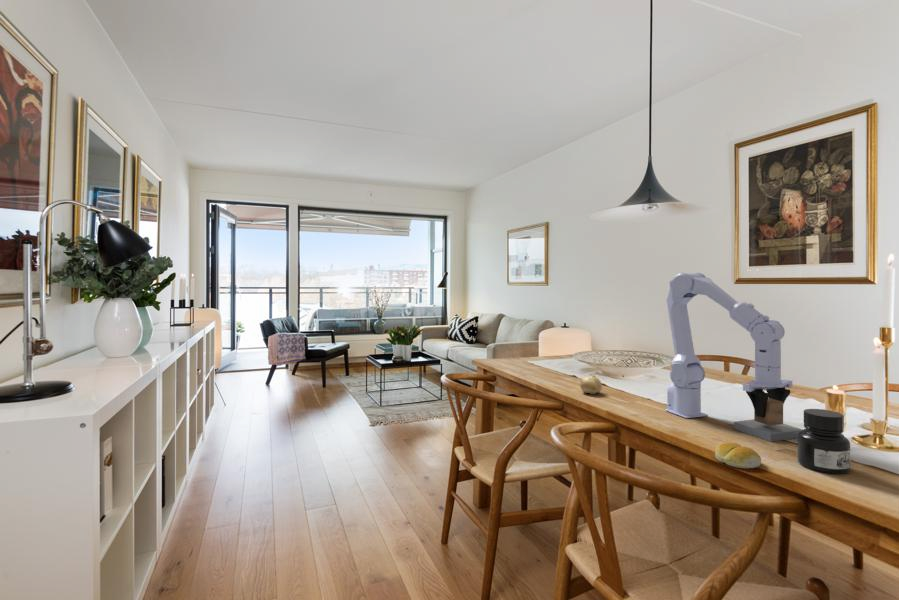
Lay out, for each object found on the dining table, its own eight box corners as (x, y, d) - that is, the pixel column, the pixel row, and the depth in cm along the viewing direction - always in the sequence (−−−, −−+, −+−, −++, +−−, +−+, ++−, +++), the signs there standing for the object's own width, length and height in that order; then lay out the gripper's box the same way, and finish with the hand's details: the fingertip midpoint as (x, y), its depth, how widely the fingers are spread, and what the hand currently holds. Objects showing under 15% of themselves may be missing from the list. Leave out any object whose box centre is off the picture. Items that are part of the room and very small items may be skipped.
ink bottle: (824, 477, 94) (824, 420, 94) (786, 461, 103) (786, 409, 103) (862, 472, 96) (863, 416, 96) (822, 457, 105) (822, 406, 104)
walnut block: (754, 420, 123) (754, 399, 123) (767, 419, 124) (767, 397, 124) (769, 425, 119) (769, 403, 119) (783, 424, 120) (783, 401, 120)
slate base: (733, 428, 126) (733, 421, 126) (765, 425, 129) (765, 418, 129) (770, 441, 115) (770, 434, 115) (804, 437, 118) (804, 429, 118)
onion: (605, 395, 166) (604, 376, 166) (583, 396, 167) (583, 377, 166) (598, 390, 174) (598, 372, 174) (577, 391, 175) (577, 372, 174)
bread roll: (734, 453, 109) (734, 436, 109) (768, 467, 100) (768, 449, 100) (705, 456, 107) (705, 440, 107) (737, 471, 98) (737, 453, 98)
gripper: (759, 370, 116) (759, 422, 116) (803, 366, 119) (803, 417, 120) (736, 365, 123) (736, 415, 123) (778, 362, 126) (778, 410, 126)
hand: (767, 415), depth 122 cm, fingers closed on walnut block, 4 cm apart
